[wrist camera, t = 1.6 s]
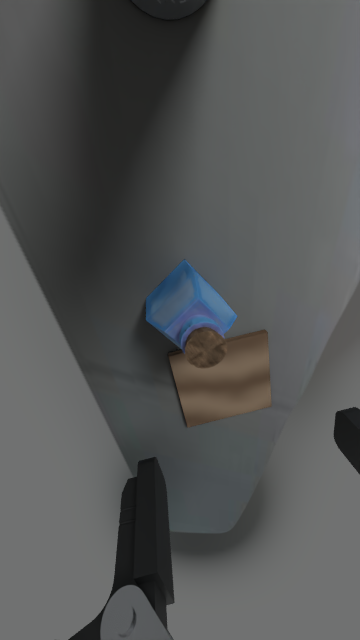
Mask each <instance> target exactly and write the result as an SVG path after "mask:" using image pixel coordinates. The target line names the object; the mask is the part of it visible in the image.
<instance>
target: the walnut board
mask: <svg viewBox="0 0 360 640" xmlns="http://www.w3.org/2000/svg"><path fill="white" fill-rule="evenodd" d="M225 340H226V343H227V353H226V355H225V357H224V359H223V360H222V361H221V362H220V363H218V364H217V365H215V366H213V367H210V368H203V369H202V368H197V367H194V366H193V365H191V364H190V363H189V362H188V361H187V359H186V356H185V354H184V353H183V351H182V350H179V351H175V352H171V353H168V356H169V360H170V364H171V368H172V371H173V375H174V379H175V382H176V386H177V390H178V394H179V397H180V401H181V405H182V408H183V412H184V416H185V419H186V423H187V427H192V426H196V425H200V424H203V423H207V422H211V421H215V420H219V419H223V418H227V417H231V416H235V415H239V414H243V413H247V412H251V411H255V410H259V409H263V408H267V407H271V389H270V370H269V350H268V332H267V331H266V330H261V331H257V332H253V333H249V334H244V335H240V336H236V337H232V338H228V339H225Z"/></svg>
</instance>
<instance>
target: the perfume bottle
mask: <svg viewBox="0 0 360 640" xmlns="http://www.w3.org/2000/svg"><path fill="white" fill-rule="evenodd" d="M236 318H237V315H236V314H235V313H234V312H233V310H232V309H231V308H230V307H229V306H228V304H227V303H226V302H225V301H224V300H223V298H222V297H221V296H220V295H219V294H218V293H217V292H216V291H215V290H214V289H213V288H212V287H211V286H210V285H209V284H208V283H207V282H206V281H205V280H204V279H203V278H202V277H201V276H200V275H199V274H198V273H197V272H196V271H195V269H194V268H193V267H192V266H191V265H190V264H189V263H188V262H187V261H186V260H185V259H184V260H183V261H182V262H181V263H180V264H179V265H178V266H177V267H176V268H175V269H174V270H173V271H172V272H171V273H170V274H169V275H168V276H167V277H166V278H165V279H164V280H163V281H162V282H161V284H160V285H159V286H158V287H157V288H156V289H155V290H154V291H153V292H152V293H151V294H150V295H149V296H148V297H147V298H146V321H147V322H149V323H150V324H151V325H152V326H154V327H155V328H156V329H157V330H158V331H160V332H161V333H162V334H163V335H165V336H166V337H167V338H168V339H170V340H171V341H172V342H173V343H174V344H176V345H177V346H178V347H179V348H181V349H182V351H183V353H184V354H185V356H186V359H187V361H188V362H189V363H190V364H191V365H193V366H194V367H197V368H202V369H203V368H210V367H213V366H215V365H217V364H218V363H220V362H221V361H222V360H223V359H224V357H225V355H226V353H227V343H226V340H225V339H224V335H223V334H224V333H225V332H226V331H227V330H229V329H230V327H231V326H232V324H233V322H234V321H235V319H236Z"/></svg>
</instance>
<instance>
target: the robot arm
mask: <svg viewBox="0 0 360 640" xmlns="http://www.w3.org/2000/svg"><path fill="white" fill-rule="evenodd" d="M131 1H132V2H133V3H134V4H135V5H137V6H138V7H139V8H140V9H141V10H143V11H144V12H146V13H148V14H150V15H152V16H153V17H157V18H161V19H165V20H170V19H180V18H183V17H185V16H188V15H191V14H192V13H193V12H195V11H196V10H197V9H199V8H200V7H201V6H202V5H203V4H204V3H205V2H206V1H207V0H131ZM334 439H335V442H336V444H337V446H338V448H339V449H340V450H341V452H342V453H343V454H344V455H345V457H346V458H347V459H348V460H349V462H350V463H351V464H352V465H353V467H354V468H355V469H356V470H357V472H358V473H359V474H360V409H358V408H356V407H353V408H349V409H345V410H341V411H337V412H336V416H335V427H334ZM119 523H120V526H119V531H118V543H117V554H116V564H115V576H114V583H113V587H112V591H111V594H110V597H109V599H108V601H107V603H106V605H105V606H104V608H103V610H102V611H101V613H100V614H99V615H98V616H97V617H96V618H95V619H94V620H93V621H92V622H91V623H89V624H88V625H87V626H85V627H84V628H83V629H81V630H80V631H79V632H78V633H76V634H75V635H74V636H72V637H71V638H70V639H69V640H173V638H172V636H171V635H170V633H169V631H168V630H167V613H166V605H169V604H173V603H174V590H173V575H172V561H171V546H170V531H169V517H168V502H167V490H166V484H165V479H164V476H163V473H162V471H161V468H160V466H159V463H158V460H157V458H156V457H153V458H149V459H145V460H141V461H139V462H138V471H137V477H134V478H130V479H128V480H127V483H126V485H125V487H124V490H123V492H122V498H121V512H120V520H119Z"/></svg>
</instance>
